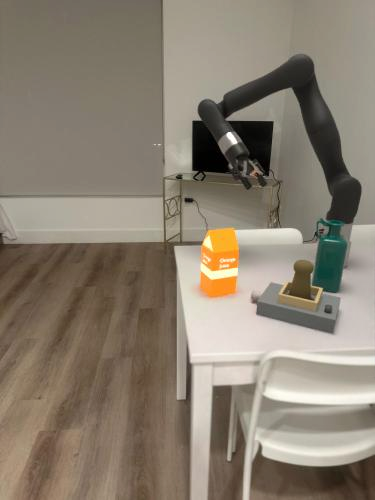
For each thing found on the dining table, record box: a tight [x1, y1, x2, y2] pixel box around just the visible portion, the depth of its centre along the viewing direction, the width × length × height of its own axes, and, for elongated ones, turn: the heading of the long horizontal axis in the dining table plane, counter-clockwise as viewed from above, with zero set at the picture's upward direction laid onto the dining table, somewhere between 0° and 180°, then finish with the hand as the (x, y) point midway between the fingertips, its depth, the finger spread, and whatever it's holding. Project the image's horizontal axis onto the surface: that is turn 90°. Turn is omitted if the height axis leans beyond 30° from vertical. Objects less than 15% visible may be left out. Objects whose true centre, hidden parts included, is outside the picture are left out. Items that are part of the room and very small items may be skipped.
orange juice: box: [199, 227, 240, 299], centre depth 109 cm, size 8×9×20 cm
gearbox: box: [250, 280, 342, 335], centre depth 101 cm, size 24×14×6 cm, turn 63°
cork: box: [289, 259, 314, 300], centre depth 98 cm, size 6×6×11 cm
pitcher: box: [311, 217, 348, 293], centre depth 114 cm, size 10×8×22 cm
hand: (257, 187), depth 120 cm, fingers open, 8 cm apart
